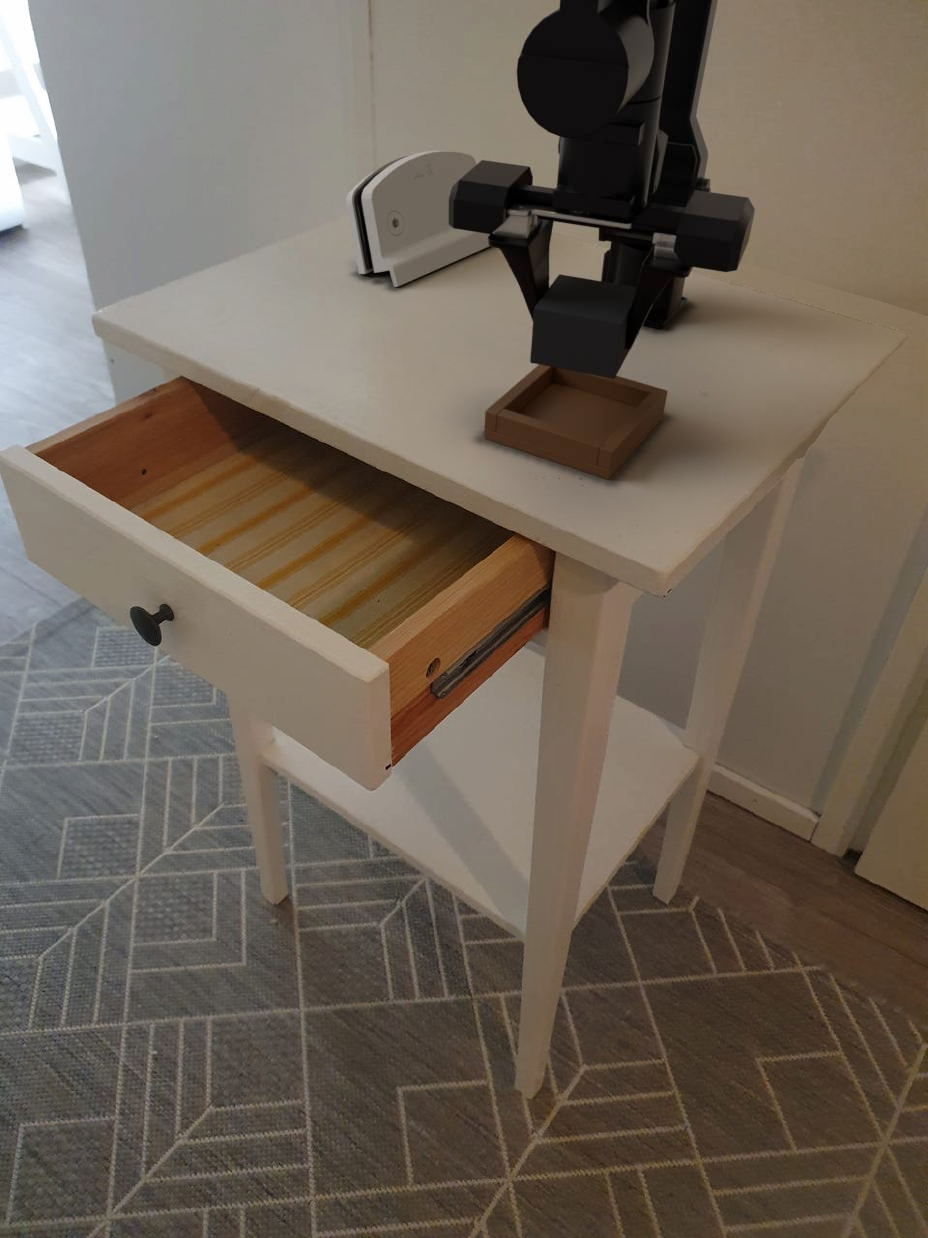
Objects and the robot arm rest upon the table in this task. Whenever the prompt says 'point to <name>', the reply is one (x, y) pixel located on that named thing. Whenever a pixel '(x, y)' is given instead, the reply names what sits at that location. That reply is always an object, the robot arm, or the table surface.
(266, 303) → the table surface
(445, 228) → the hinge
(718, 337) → the table surface
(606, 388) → the shallow brown tray
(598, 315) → the black block
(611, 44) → the robot arm
